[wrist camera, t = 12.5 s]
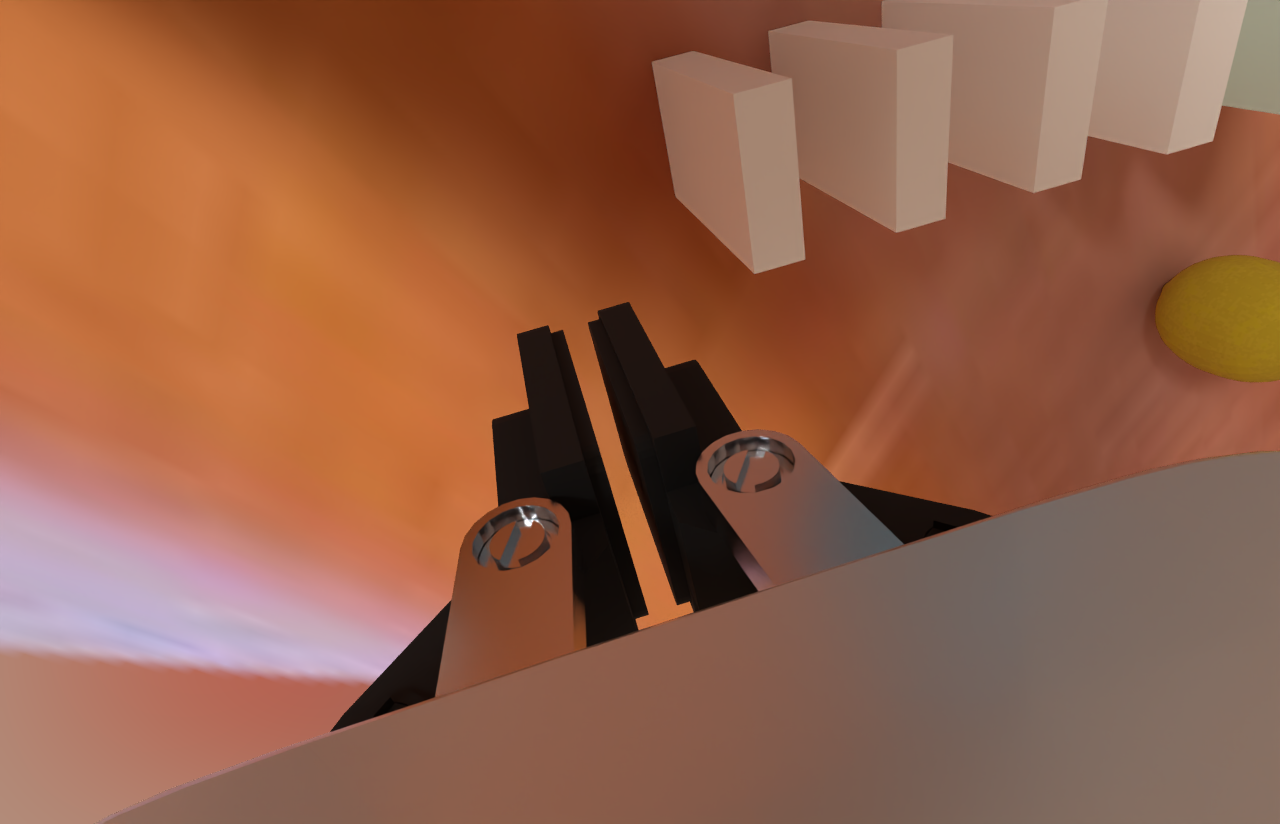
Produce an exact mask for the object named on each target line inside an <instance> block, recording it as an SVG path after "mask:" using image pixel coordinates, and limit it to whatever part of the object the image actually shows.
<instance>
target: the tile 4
mask: <svg viewBox="0 0 1280 824" xmlns="http://www.w3.org/2000/svg"><path fill="white" fill-rule="evenodd" d="M1247 2H1248V0H1108V5H1107V11H1106V18H1105V25H1104V31H1103V38H1102V44H1101V51H1100V58H1099V64H1098V71H1097V77H1096V84H1095V91H1094V97H1093V104H1092V111H1091V117H1090V124H1089V130H1088V136H1090V137H1095V138H1099V139H1103V140H1107V141H1111V142H1116V143H1120V144H1124V145H1128V146H1133V147H1137V148H1141V149H1145V150H1150V151H1154V152H1158V153H1162V154H1170V153H1174V152H1177V151H1181V150H1184V149H1188V148H1191V147H1195V146H1198V145H1201V144H1205V143H1208V142H1212V141H1213V139H1214V135H1215V131H1216V127H1217V123H1218V119H1219V115H1220V111H1221V107H1222V103H1223V99H1224V94H1225V90H1226V86H1227V82H1228V78H1229V74H1230V70H1231V66H1232V62H1233V58H1234V54H1235V50H1236V46H1237V42H1238V38H1239V34H1240V30H1241V26H1242V22H1243V18H1244V14H1245V10H1246V6H1247Z"/></svg>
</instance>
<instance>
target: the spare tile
mask: <svg viewBox="0 0 1280 824" xmlns="http://www.w3.org/2000/svg"><path fill="white" fill-rule="evenodd" d="M1222 106H1228V107H1235V108H1241V109H1247V110H1254V111H1260V112H1267V113H1273V114H1279V115H1280V0H1248V2H1247V6H1246V10H1245V14H1244V18H1243V22H1242V26H1241V30H1240V34H1239V38H1238V42H1237V46H1236V50H1235V54H1234V58H1233V62H1232V66H1231V70H1230V74H1229V78H1228V82H1227V86H1226V90H1225V94H1224V99H1223V103H1222Z"/></svg>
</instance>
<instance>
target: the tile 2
mask: <svg viewBox="0 0 1280 824" xmlns="http://www.w3.org/2000/svg"><path fill="white" fill-rule="evenodd" d="M768 36H769V47H770V59H771V70H772V73H774V74H778V75H782V76H785V77H789V78H792V87H793V101H794V114H795V128H796V141H797V154H798V168H799V178H800V179H801V180H803V181H805V182H807V183H809V184H810V185H812V186H814V187H816V188H817V189H819V190H821V191H823V192H825V193H826V194H828V195H830V196H832V197H833V198H835V199H837V200H839V201H840V202H842V203H844V204H846V205H848V206H849V207H851V208H853V209H855V210H856V211H858V212H860V213H862V214H864V215H865V216H867V217H869V218H871V219H872V220H874V221H876V222H878V223H879V224H881V225H883V226H885V227H887V228H888V229H890V230H892V231H894V232H895V233H898V232H901V231H905V230H908V229H912V228H915V227H919V226H922V225H926V224H929V223H933V222H936V221H939V220H943V219H946V196H947V173H948V150H949V127H950V105H951V82H952V59H953V36H954V35H952V34H941V33H931V32H921V31H911V30H901V29H891V28H881V27H870V26H860V25H850V24H840V23H830V22H820V21H810V20H808V21H805V22H801V23H797V24H793V25H789V26H786V27H782V28H778V29H774V30H770V31H768Z"/></svg>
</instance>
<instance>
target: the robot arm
mask: <svg viewBox="0 0 1280 824" xmlns="http://www.w3.org/2000/svg"><path fill="white" fill-rule="evenodd" d="M598 316H599V320H595V321H592V322H588V325H589V329H590V333H591V337H592V340H593V344H594V347H595V351H596V355H597V358H598V362H599V366H600V369H601V373H602V376H603V380H604V384H605V387H606V391H607V395H608V398H609V402H610V405H611V409H612V413H613V416H614V420H615V423H616V427H617V431H618V434H619V438H620V442H621V445H622V449H623V452H624V456H625V459H626V462H627V465H628V468H629V471H630V474H631V477H632V479H633V482H634V485H635V488H636V491H637V494H638V496H639V499H640V502H641V505H642V508H643V511H644V513H645V516H646V519H647V522H648V525H649V528H650V530H651V533H652V536H653V539H654V542H655V545H656V547H657V550H658V553H659V556H660V559H661V562H662V564H663V567H664V570H665V573H666V576H667V579H668V581H669V584H670V587H671V590H672V593H673V596H674V598H675V601H676V604H677V605H680V604H683V603H686V602H689V601H690V603H691V606H692V608H693V611H694V612H693V613H690V614H687V615H684V616H681V617H678V618H675V619H672V620H669V621H666V622H663V623H660V624H657V625H654V626H651V627H648V628H644V629H641V630H638V627H637V624H636V620H635V619H637V618H640V617H643V616H646V615H649V614H648V610H647V607H646V604H645V600H644V597H643V594H642V590H641V587H640V584H639V580H638V577H637V574H636V570H635V567H634V564H633V560H632V557H631V554H630V550H629V547H628V544H627V540H626V537H625V534H624V530H623V527H622V524H621V520H620V517H619V514H618V510H617V507H616V504H615V500H614V497H613V494H612V490H611V487H610V484H609V480H608V477H607V474H606V470H605V467H604V464H603V460H602V457H601V454H600V451H599V447H598V444H597V441H596V437H595V434H594V431H593V428H592V424H591V421H590V418H589V414H588V411H587V408H586V404H585V401H584V398H583V395H582V391H581V388H580V385H579V381H578V378H577V375H576V372H575V368H574V365H573V362H572V358H571V355H570V352H569V349H568V345H567V342H566V339H565V335H564V332H563V330H561V331H557V332H554V333H551V332H550V329H549V326H548V325H547V326H544V327H540V328H537V329H533V330H530V331H526V332H523V333H519V334H517V339H518V345H519V351H520V356H521V362H522V368H523V374H524V380H525V386H526V392H527V398H528V404H529V409H527V410H523V411H520V412H517V413H513V414H510V415H506V416H503V417H500V418H496V419H493V420H492V429H493V442H494V455H495V468H496V481H497V494H498V507H497V508H495V509H493V510H491V511H490V512H488V513H486V514H485V515H484V516H483V517H482V518H480V519H479V520H478V521H477V522H476V523H474V525H473V526H472V527H471V529H470V530H469V531H468V533H467V534H466V535H465V537H464V540H463V543H462V545H461V548H460V553H459V559H458V565H457V571H456V577H455V583H454V589H453V595H452V600H451V601H450V602H449V603H448V604H447V605H446V606H445V607H444V608H443V609H442V610H441V611H440V613H439V614H438V615H437V616H436V617H435V618H434V619H433V620H432V621H431V622H430V623H429V624H428V625H427V626H426V627H425V628H424V630H423V631H422V632H421V633H420V634H419V635H418V636H417V637H416V638H415V639H414V640H413V641H412V642H411V643H410V644H409V645H408V647H407V648H406V649H405V650H404V651H403V652H402V653H401V654H400V655H399V656H398V657H397V658H396V659H395V660H394V661H393V662H392V664H391V665H390V666H389V667H388V668H387V669H386V670H385V671H384V672H383V673H382V674H381V675H380V676H379V677H378V678H377V679H376V681H375V682H374V683H373V684H372V685H371V686H370V687H369V688H368V689H367V690H366V691H365V692H364V693H363V694H362V695H361V696H360V698H359V699H358V700H357V701H356V702H355V703H354V704H353V705H352V706H351V707H350V708H349V709H348V710H347V711H346V712H345V713H344V715H343V716H342V717H341V718H340V720H339V721H338V722H337V724H336V725H335V726H334V727H333V729H332V730H331V731H330V732H329V733H326V734H323V735H320V736H317V737H314V738H311V739H308V740H305V741H302V742H299V743H296V744H293V745H290V746H287V747H284V748H281V749H278V750H275V751H273V752H270V753H267V754H264V755H262V756H259V757H256V758H253V759H251V760H248V761H245V762H242V763H240V764H237V765H234V766H231V767H229V768H226V769H223V770H220V771H218V772H215V773H212V774H209V775H207V776H204V777H201V778H198V779H196V780H193V781H191V782H187V783H185V784H182V785H179V786H176V787H174V788H171V789H168V790H166V791H164V792H162V793H159V794H157V795H155V796H152V797H150V798H148V799H145V800H143V801H141V802H139V803H136V804H134V805H132V806H130V807H127V808H125V809H123V810H120V811H118V812H116V813H114V814H111V815H109V816H108V817H106V818H104V819H102V820H100V821H98V822H96V823H94V824H1280V451H1259V452H1250V453H1242V454H1234V455H1226V456H1218V457H1210V458H1202V459H1196V460H1191V461H1186V462H1182V463H1177V464H1172V465H1167V466H1162V467H1158V468H1153V469H1149V470H1145V471H1142V472H1138V473H1135V474H1131V475H1128V476H1124V477H1121V478H1117V479H1114V480H1110V481H1107V482H1103V483H1100V484H1096V485H1093V486H1089V487H1086V488H1082V489H1078V490H1075V491H1071V492H1068V493H1064V494H1061V495H1057V496H1054V497H1051V498H1048V499H1045V500H1042V501H1039V502H1036V503H1032V504H1029V505H1026V506H1023V507H1020V508H1017V509H1014V510H1011V511H1007V512H1004V513H1001V514H998V515H995V516H990V515H987V514H984V513H981V512H978V511H975V510H970V509H966V508H961V507H956V506H952V505H947V504H942V503H938V502H933V501H929V500H924V499H919V498H915V497H910V496H905V495H901V494H896V493H891V492H887V491H882V490H877V489H873V488H868V487H863V486H859V485H854V484H850V483H845V482H840V481H838V480H837V479H836V478H835V477H834V476H833V475H832V474H831V473H830V472H829V471H828V470H827V469H826V468H825V467H824V466H823V465H822V464H821V463H820V462H818V461H817V460H816V459H815V458H814V457H813V456H812V455H811V454H810V453H809V452H808V451H807V450H806V449H805V448H804V447H803V446H802V445H801V444H800V443H798V442H797V441H796V440H794V439H793V438H791V437H790V436H788V435H785V434H782V433H779V432H776V431H769V430H759V429H758V430H747V431H742V430H741V429H740V427H739V426H738V424H737V423H736V421H735V420H734V418H733V416H732V415H731V413H730V412H729V410H728V409H727V407H726V405H725V404H724V402H723V401H722V399H721V398H720V396H719V394H718V393H717V391H716V390H715V388H714V387H713V385H712V383H711V382H710V380H709V379H708V377H707V376H706V374H705V372H704V371H703V369H702V368H701V366H700V365H699V363H698V362H697V361H696V360H691V361H688V362H685V363H681V364H678V365H675V366H671V367H668V368H664V366H663V364H662V362H661V361H660V359H659V357H658V355H657V353H656V351H655V349H654V348H653V346H652V344H651V342H650V340H649V338H648V337H647V335H646V333H645V331H644V329H643V327H642V325H641V324H640V322H639V320H638V318H637V316H636V314H635V312H634V311H633V309H632V307H631V305H630V303H629V302H627V303H623V304H620V305H616V306H613V307H609V308H606V309H603V310H599V311H598Z"/></svg>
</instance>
